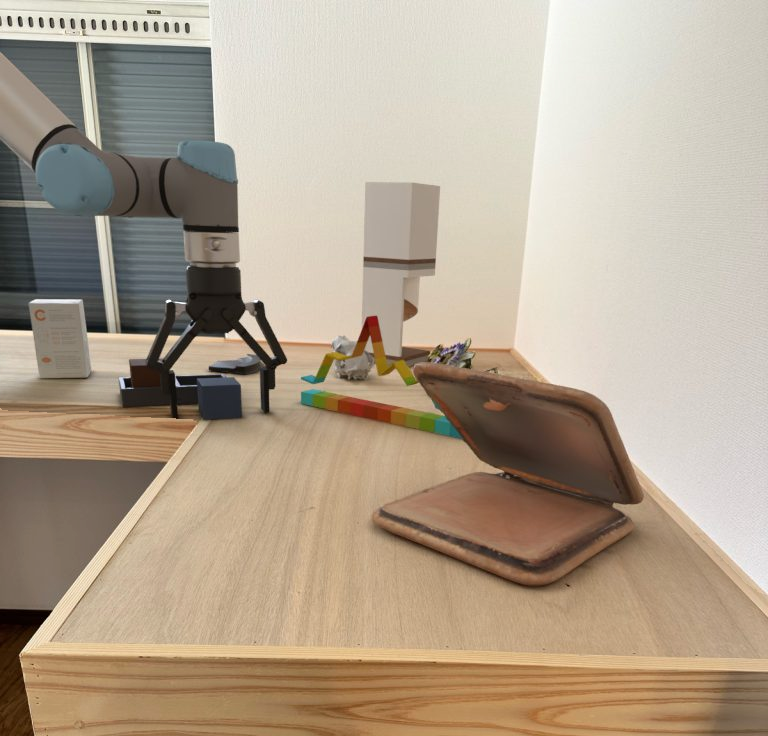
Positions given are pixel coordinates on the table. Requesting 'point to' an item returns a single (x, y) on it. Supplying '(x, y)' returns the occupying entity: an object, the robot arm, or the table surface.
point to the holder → (155, 396)
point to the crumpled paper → (354, 365)
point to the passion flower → (455, 356)
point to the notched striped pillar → (397, 259)
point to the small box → (60, 338)
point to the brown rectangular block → (143, 374)
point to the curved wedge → (238, 365)
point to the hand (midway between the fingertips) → (220, 413)
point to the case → (521, 477)
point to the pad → (219, 398)
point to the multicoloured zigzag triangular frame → (369, 407)
